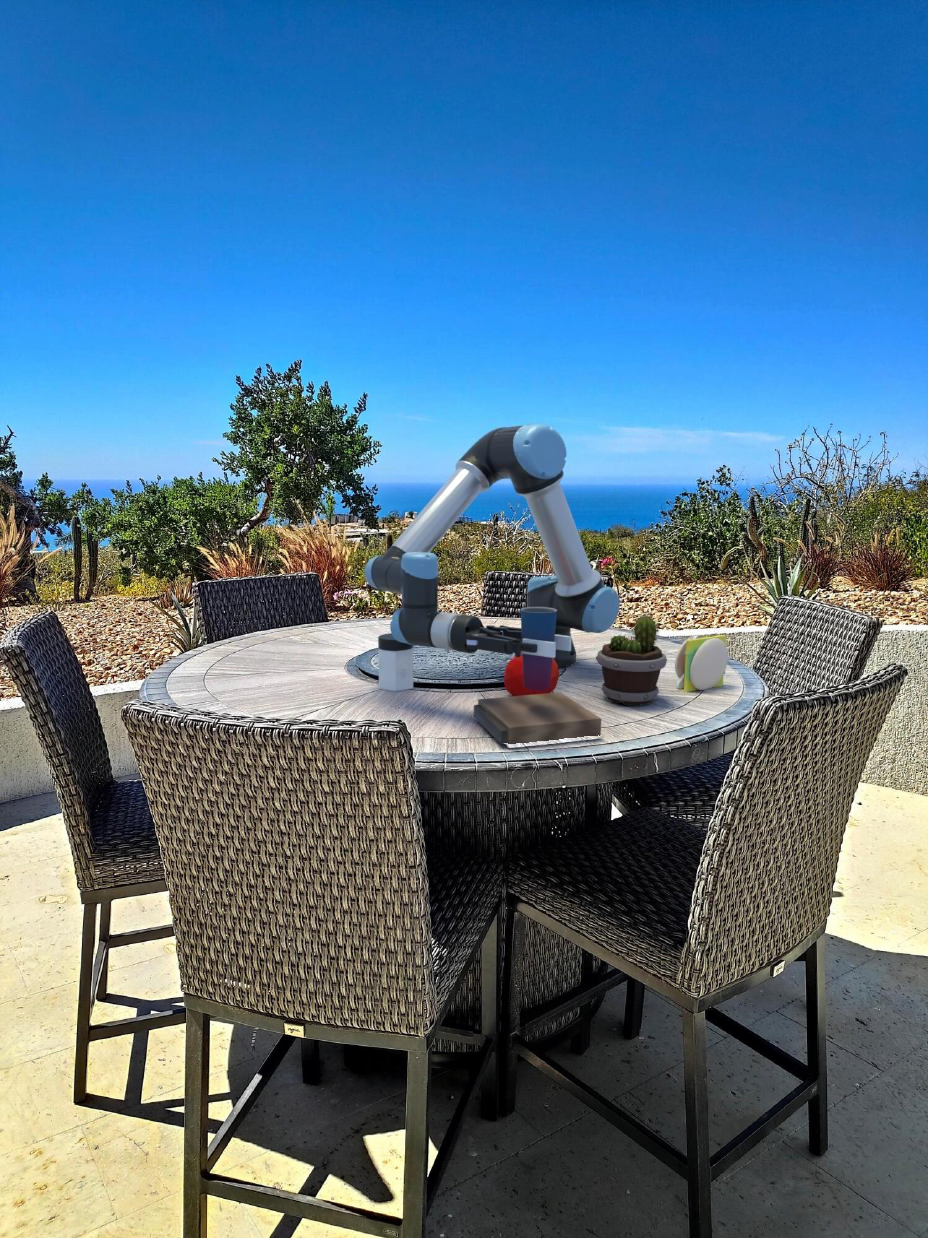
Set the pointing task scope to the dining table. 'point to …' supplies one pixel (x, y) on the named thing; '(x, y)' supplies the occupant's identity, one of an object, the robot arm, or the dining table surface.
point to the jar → (395, 664)
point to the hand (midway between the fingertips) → (562, 646)
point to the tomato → (515, 678)
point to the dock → (536, 718)
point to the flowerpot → (632, 665)
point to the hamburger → (701, 663)
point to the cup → (540, 627)
